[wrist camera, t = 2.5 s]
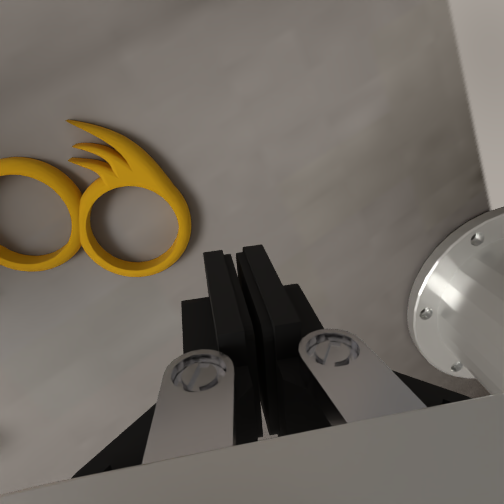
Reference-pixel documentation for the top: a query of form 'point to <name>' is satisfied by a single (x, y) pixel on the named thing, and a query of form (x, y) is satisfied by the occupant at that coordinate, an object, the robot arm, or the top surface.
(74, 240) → the novelty glasses
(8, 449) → the top surface
